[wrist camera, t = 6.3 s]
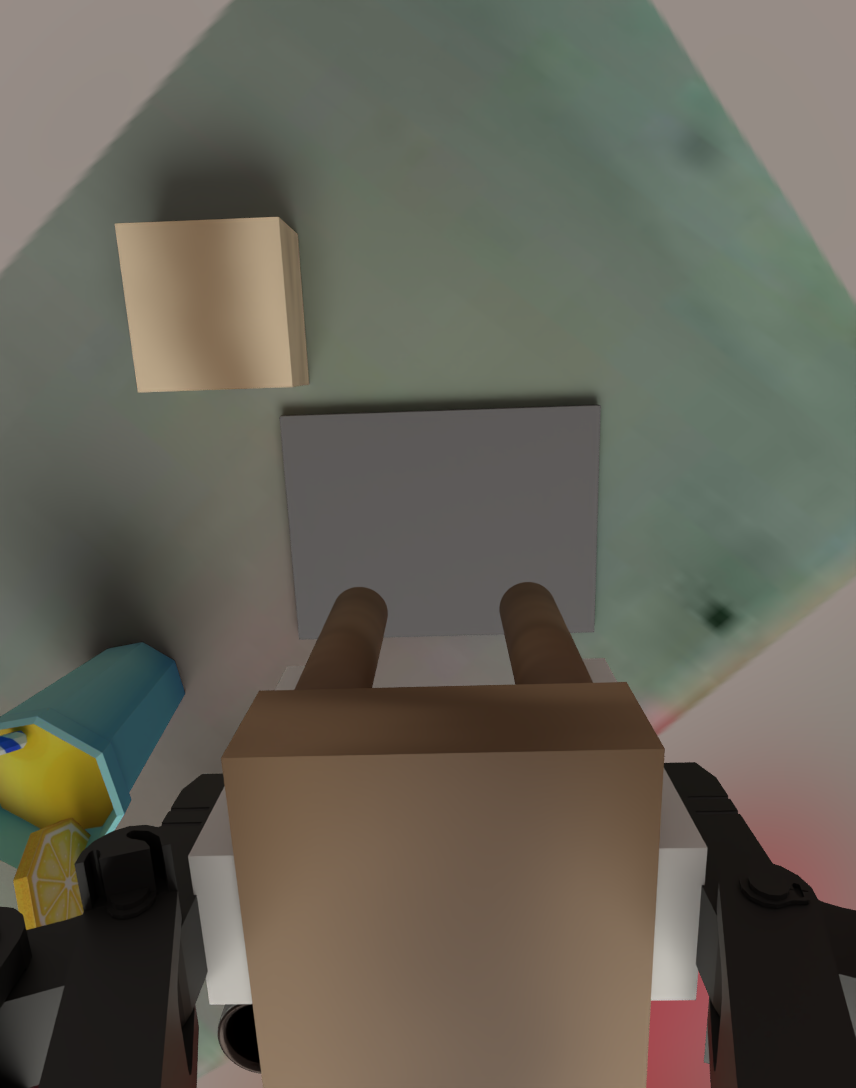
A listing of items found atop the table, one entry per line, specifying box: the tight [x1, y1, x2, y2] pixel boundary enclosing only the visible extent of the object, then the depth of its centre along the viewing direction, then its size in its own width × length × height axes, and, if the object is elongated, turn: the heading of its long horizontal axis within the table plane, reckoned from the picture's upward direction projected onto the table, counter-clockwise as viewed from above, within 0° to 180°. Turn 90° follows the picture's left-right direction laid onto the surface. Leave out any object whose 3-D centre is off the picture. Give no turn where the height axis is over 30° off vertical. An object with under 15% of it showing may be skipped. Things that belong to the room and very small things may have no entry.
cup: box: [0, 642, 185, 930], centre depth 32 cm, size 14×8×15 cm, turn 34°
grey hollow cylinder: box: [217, 1004, 261, 1073], centre depth 37 cm, size 4×4×10 cm
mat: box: [280, 405, 601, 639], centre depth 36 cm, size 16×12×1 cm
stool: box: [221, 582, 665, 1088], centre depth 14 cm, size 6×6×8 cm
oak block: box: [115, 217, 309, 392], centre depth 32 cm, size 7×7×4 cm
